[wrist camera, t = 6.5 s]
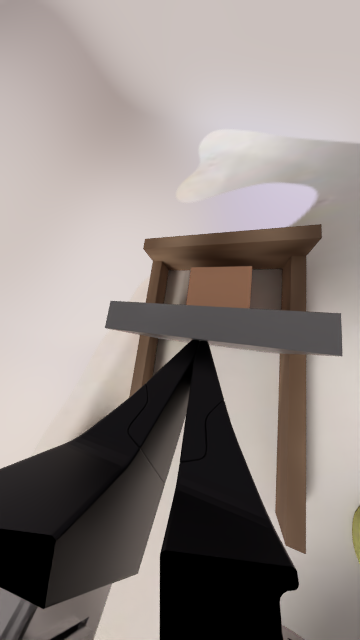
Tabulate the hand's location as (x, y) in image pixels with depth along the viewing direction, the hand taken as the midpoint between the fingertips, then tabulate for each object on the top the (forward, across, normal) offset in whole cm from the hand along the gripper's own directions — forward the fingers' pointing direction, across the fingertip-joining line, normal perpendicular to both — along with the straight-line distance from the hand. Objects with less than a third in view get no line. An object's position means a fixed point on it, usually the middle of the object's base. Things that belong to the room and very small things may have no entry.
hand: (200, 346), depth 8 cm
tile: (+8, 0, +2) cm, 8 cm away
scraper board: (+6, 0, +4) cm, 7 cm away
